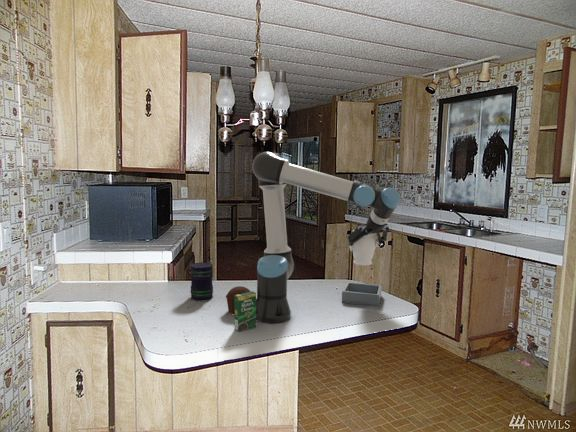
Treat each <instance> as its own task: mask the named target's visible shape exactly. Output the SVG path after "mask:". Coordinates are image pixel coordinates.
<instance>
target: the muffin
mask: <svg viewBox="0 0 576 432" xmlns="http://www.w3.org/2000/svg"><path fill="white" fill-rule="evenodd" d="M248 292H252V291H251V290H250V289H249V288H247V287H245V286H235V287H232V288H230V290H228V292H227V294H226V295H225V298H226V303H227V308H228V310H227V311H228V313H229V314H231V315H233V316H234V295H238V294H243V293H248Z"/></svg>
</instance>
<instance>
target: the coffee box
mask: <svg viewBox="0 0 576 432" xmlns="http://www.w3.org/2000/svg"><path fill="white" fill-rule="evenodd" d="M256 299H257V292H255V291H253V290H252V291H251V292H248V293H243V294H238V295H234V315H233V317H234V319H233V320H234V326H233V328H234V330H235V331H236V332H239V333H240V332H242V331H243V332H244V331H245V330H246V331H248V330H250V329H254V328H257V320H256Z"/></svg>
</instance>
